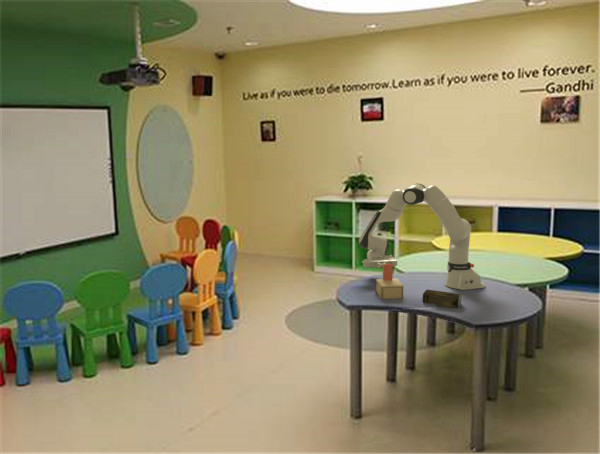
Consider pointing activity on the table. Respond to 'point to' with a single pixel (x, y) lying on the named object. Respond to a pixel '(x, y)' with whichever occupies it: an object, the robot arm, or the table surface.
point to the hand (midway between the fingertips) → (382, 266)
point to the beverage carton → (442, 298)
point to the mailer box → (389, 292)
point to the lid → (388, 277)
